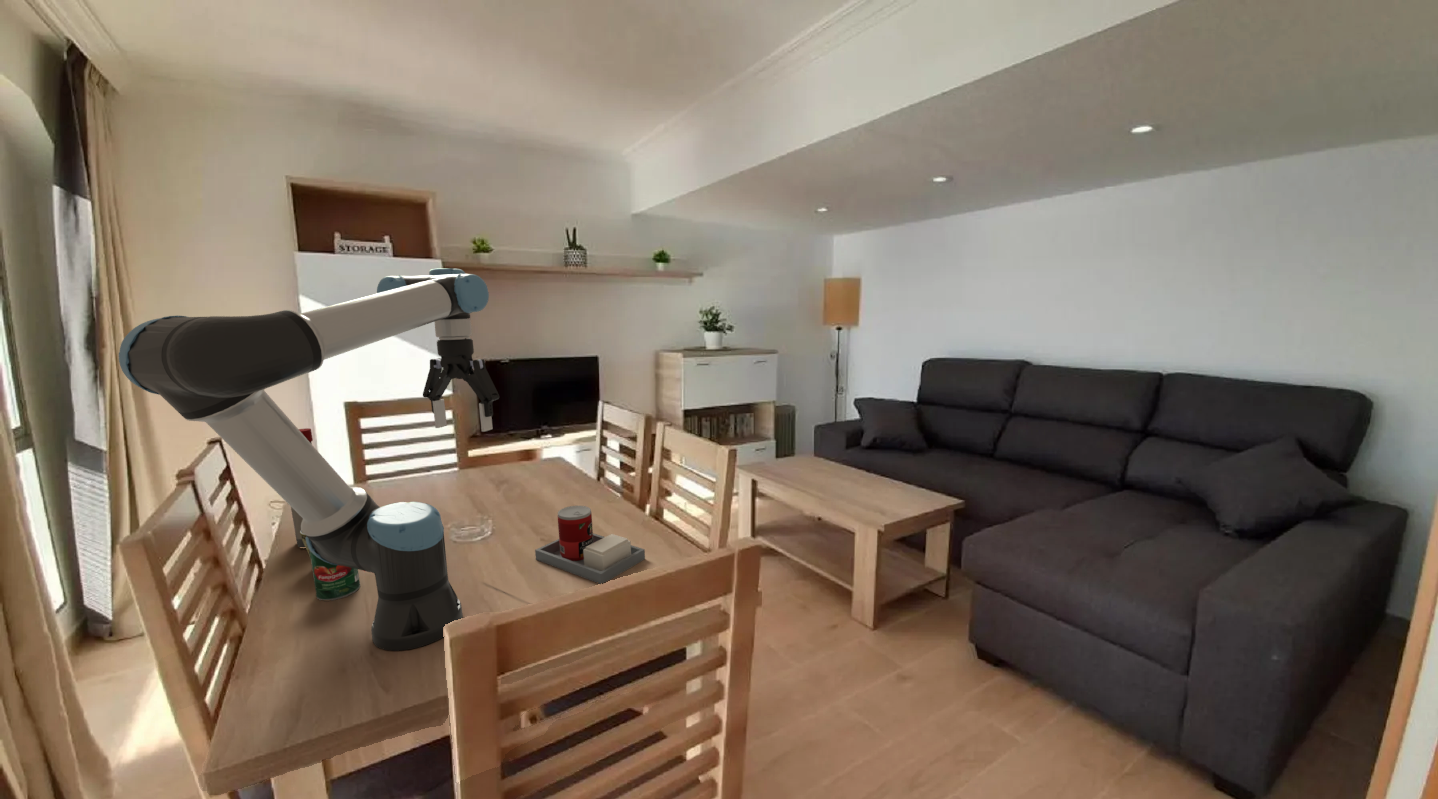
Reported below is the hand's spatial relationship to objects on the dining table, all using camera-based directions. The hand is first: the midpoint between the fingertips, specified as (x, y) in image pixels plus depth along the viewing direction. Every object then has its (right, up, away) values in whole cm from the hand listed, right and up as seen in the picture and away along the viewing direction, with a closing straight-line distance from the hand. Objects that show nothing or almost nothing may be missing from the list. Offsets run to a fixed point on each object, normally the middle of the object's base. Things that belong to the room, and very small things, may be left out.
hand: (463, 428), depth 129 cm
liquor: (-45, -31, +15) cm, 56 cm away
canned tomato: (-22, -35, -11) cm, 42 cm away
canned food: (+26, -31, +3) cm, 40 cm away
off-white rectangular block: (+35, -31, -2) cm, 47 cm away
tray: (+30, -32, +1) cm, 43 cm away
